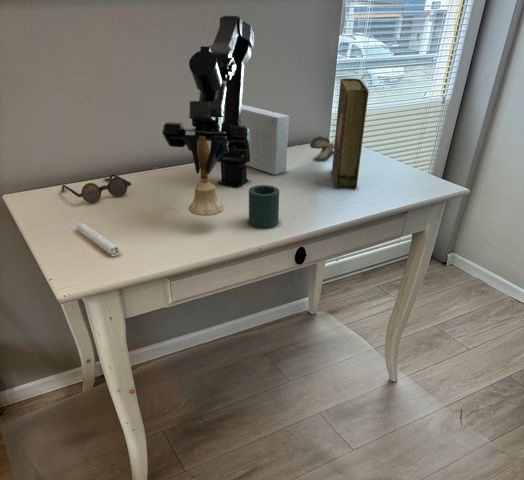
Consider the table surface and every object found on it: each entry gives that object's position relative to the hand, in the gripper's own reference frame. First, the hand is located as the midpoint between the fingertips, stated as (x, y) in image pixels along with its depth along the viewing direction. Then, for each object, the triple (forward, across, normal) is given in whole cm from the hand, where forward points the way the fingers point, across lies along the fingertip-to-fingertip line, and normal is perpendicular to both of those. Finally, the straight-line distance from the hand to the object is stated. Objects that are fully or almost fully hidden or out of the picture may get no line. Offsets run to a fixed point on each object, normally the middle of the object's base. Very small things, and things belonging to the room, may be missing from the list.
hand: (202, 173), depth 108 cm
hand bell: (+5, 0, +7) cm, 9 cm away
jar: (+5, +13, +14) cm, 19 cm away
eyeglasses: (-4, -36, +23) cm, 42 cm away
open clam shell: (-34, +24, +54) cm, 68 cm away
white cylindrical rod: (+17, -23, +2) cm, 28 cm away
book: (-19, +31, +39) cm, 53 cm away
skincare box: (-25, +4, +45) cm, 51 cm away
